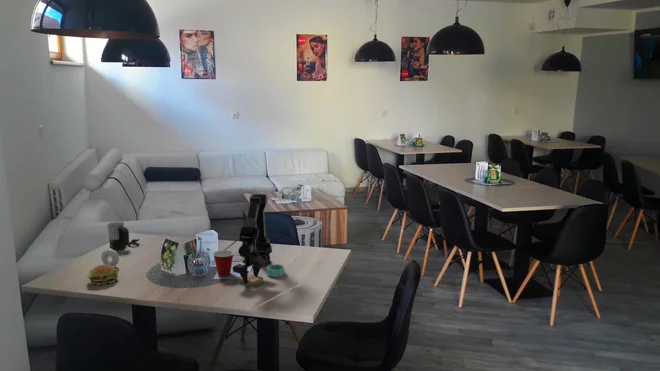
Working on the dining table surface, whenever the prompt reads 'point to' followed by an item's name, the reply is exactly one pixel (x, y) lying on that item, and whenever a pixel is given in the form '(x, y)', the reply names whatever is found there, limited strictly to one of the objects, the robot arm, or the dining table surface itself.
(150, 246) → the dining table surface
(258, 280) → the board
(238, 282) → the mat
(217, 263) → the plastic cup
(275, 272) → the bowl
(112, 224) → the milk frother
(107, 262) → the donut
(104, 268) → the food
